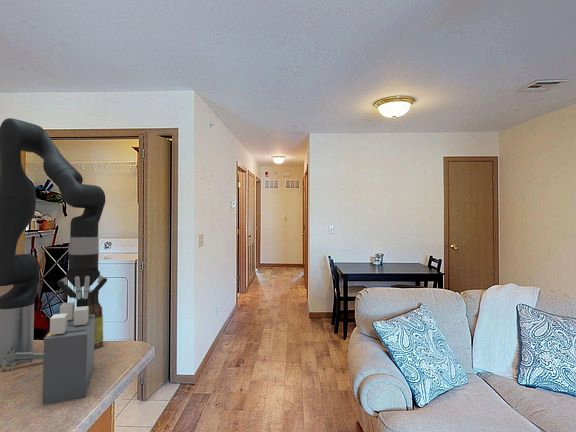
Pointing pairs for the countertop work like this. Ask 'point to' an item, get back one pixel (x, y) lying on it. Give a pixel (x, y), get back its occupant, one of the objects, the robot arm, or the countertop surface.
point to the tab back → (68, 309)
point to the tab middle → (81, 315)
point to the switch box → (68, 362)
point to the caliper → (19, 358)
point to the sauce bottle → (96, 319)
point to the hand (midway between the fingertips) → (82, 311)
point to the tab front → (58, 324)
